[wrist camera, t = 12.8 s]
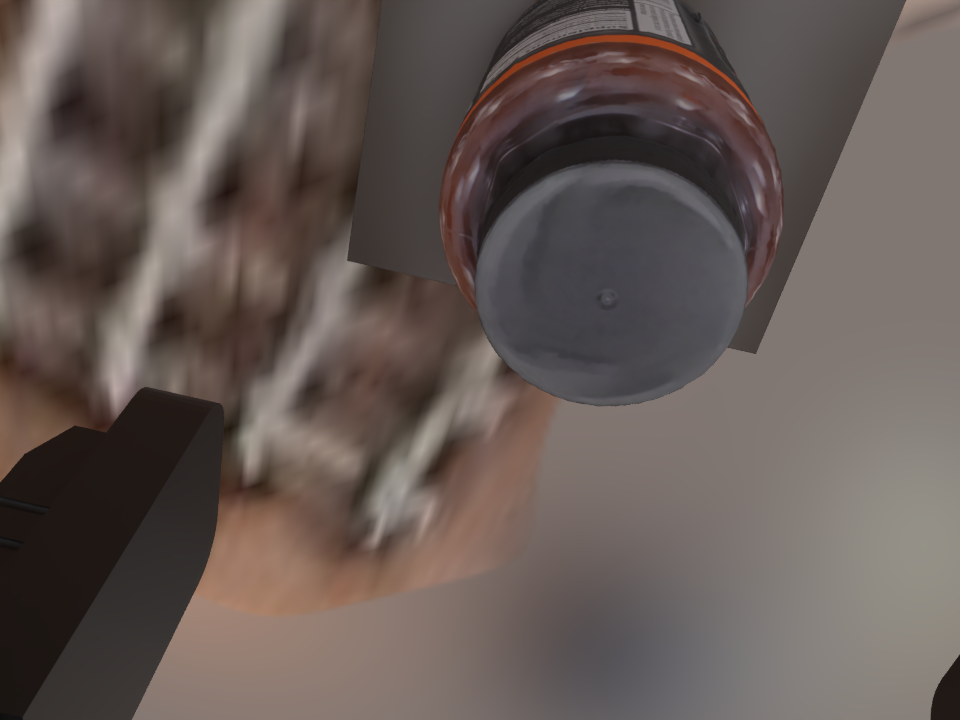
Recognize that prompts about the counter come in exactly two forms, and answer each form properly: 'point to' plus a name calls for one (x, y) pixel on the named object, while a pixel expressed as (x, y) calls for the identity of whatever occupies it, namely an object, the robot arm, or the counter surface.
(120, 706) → the robot arm
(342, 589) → the counter surface
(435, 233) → the riser
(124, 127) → the counter surface
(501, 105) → the supplement bottle
